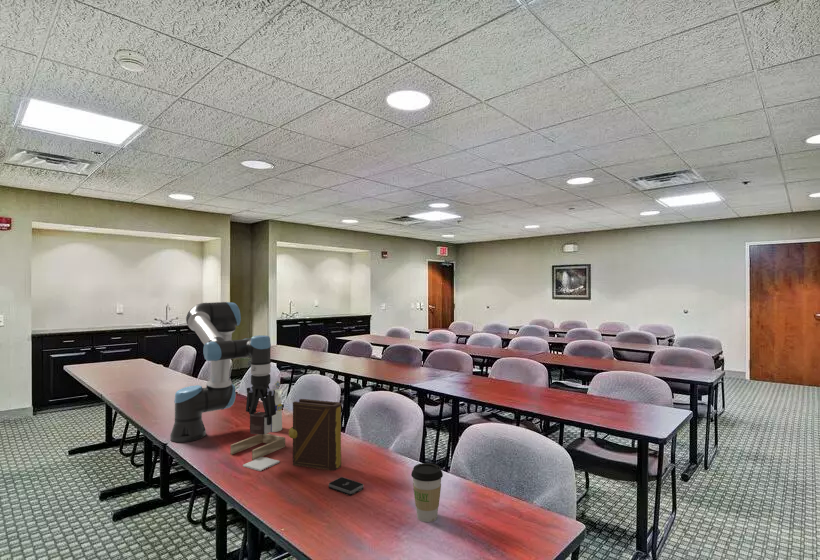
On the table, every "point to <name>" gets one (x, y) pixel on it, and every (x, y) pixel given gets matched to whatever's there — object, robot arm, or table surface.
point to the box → (257, 423)
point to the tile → (261, 463)
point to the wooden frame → (271, 440)
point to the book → (316, 434)
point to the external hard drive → (346, 486)
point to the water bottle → (277, 410)
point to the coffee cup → (427, 490)
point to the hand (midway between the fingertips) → (260, 431)
